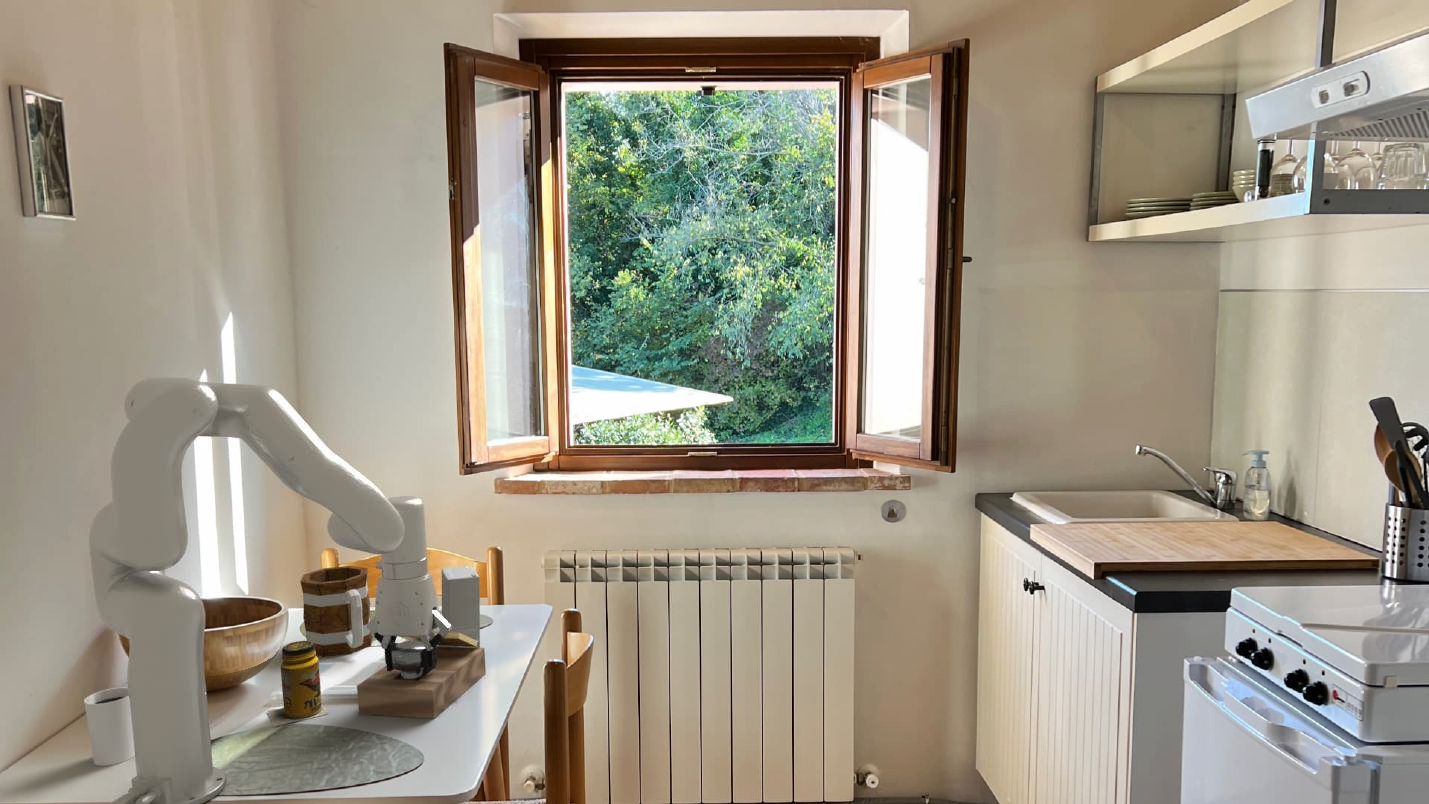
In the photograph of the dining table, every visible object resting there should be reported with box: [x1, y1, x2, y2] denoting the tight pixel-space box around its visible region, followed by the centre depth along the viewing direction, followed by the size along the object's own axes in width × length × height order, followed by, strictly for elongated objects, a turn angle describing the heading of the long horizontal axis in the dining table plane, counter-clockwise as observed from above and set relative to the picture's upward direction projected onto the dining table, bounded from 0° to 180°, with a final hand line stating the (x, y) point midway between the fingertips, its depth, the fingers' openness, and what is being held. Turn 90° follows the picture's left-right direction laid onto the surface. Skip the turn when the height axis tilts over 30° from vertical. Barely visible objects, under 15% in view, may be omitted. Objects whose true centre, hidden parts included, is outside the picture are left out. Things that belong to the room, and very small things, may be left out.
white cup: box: [83, 686, 135, 767], centre depth 153 cm, size 7×7×10 cm
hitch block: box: [356, 645, 487, 720], centre depth 175 cm, size 20×14×5 cm
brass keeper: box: [398, 631, 481, 647], centre depth 180 cm, size 9×12×1 cm
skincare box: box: [440, 565, 481, 648], centre depth 197 cm, size 8×7×16 cm
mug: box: [299, 565, 374, 658], centre depth 198 cm, size 20×14×15 cm
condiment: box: [267, 640, 329, 727], centre depth 167 cm, size 7×8×12 cm
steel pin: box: [391, 640, 425, 681], centre depth 170 cm, size 6×6×8 cm
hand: (411, 668), depth 170 cm, fingers closed on steel pin, 6 cm apart
